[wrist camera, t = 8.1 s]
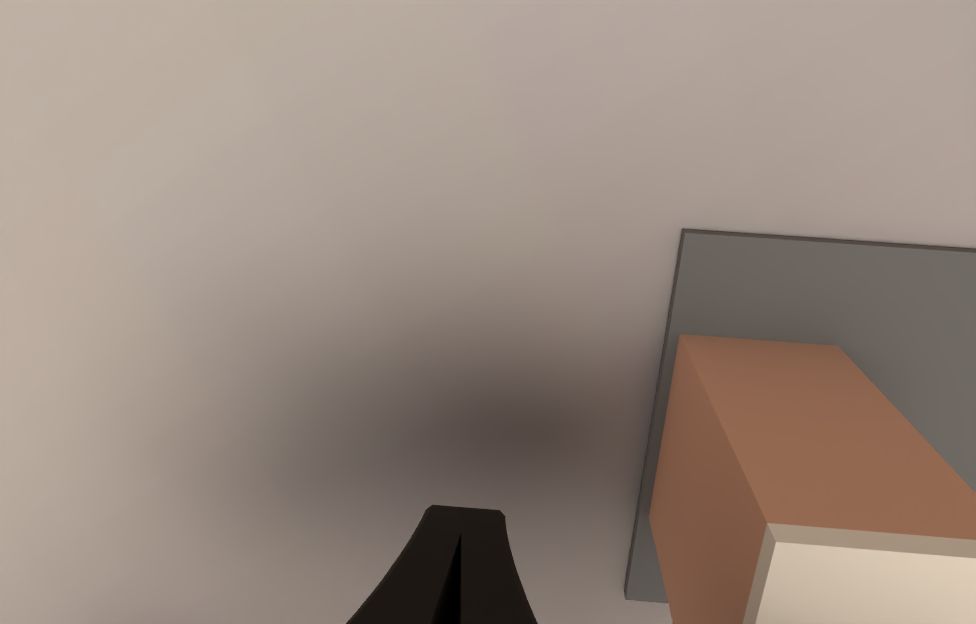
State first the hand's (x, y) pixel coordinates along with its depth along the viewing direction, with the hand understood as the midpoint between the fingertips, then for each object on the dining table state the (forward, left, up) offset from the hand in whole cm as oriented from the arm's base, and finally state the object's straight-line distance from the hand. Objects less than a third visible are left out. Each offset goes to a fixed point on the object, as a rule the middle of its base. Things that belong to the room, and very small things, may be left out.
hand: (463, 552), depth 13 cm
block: (0, -6, -5) cm, 8 cm away
